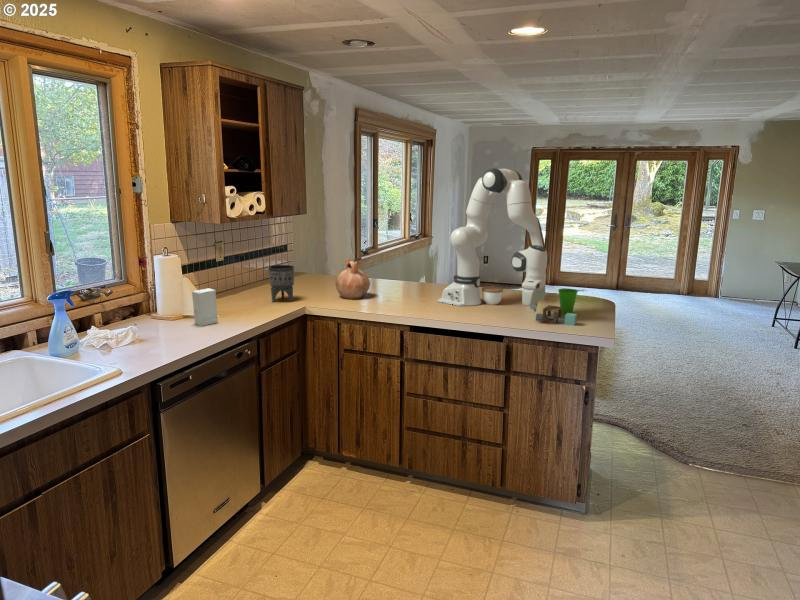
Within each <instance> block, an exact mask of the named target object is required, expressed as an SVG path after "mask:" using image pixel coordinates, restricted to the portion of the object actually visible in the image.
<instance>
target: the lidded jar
mask: <svg viewBox="0 0 800 600" xmlns="http://www.w3.org/2000/svg"><path fill="white" fill-rule="evenodd" d="M481 296H482V297H481V298H482V299H483V301H484V302H485V303H486V304H487V305H493V306H495V305H499V303H500V302H501V301H502V299H503V296H504V288H503V287H498V286H495V285H491V286H483V287H482V288H481Z"/></svg>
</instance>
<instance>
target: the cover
mask: <svg viewBox="0 0 800 600" xmlns="http://www.w3.org/2000/svg"><path fill="white" fill-rule="evenodd" d="M552 312H553V314H552ZM542 314H543V319H542V321H541V322H542V323H547V324H552V325H556V324H558V323H557V316H562V315H563V314H562V307H560V306H556V305H550V304H548V305H547V306H545V307H543V309H542ZM546 314H548V315H553V320H551V319H546Z"/></svg>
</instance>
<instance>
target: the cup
mask: <svg viewBox="0 0 800 600" xmlns="http://www.w3.org/2000/svg"><path fill="white" fill-rule="evenodd" d="M557 291H558V295H559V296H558V297H559V307H562V315H566V314H567V313H574V312H573V311H574V309H575V303H576V299H577V295H578V292H579V291H578V290H577V289H574V288H559V289H558V290H557Z"/></svg>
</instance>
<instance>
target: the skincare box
mask: <svg viewBox="0 0 800 600" xmlns="http://www.w3.org/2000/svg"><path fill="white" fill-rule="evenodd" d="M216 293H217V292H216V289H213V288H210V287H209V288H208V287H207V288H203V289H197V290H191V295H192V304H193V305H192V306H193V307H192V308H193V317H194V319H193V320H194V324H196V325H197V326H199V327H204V326H208V325H213V324H216V323H219V320H218V307H217V306H218V305H217V294H216Z"/></svg>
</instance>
